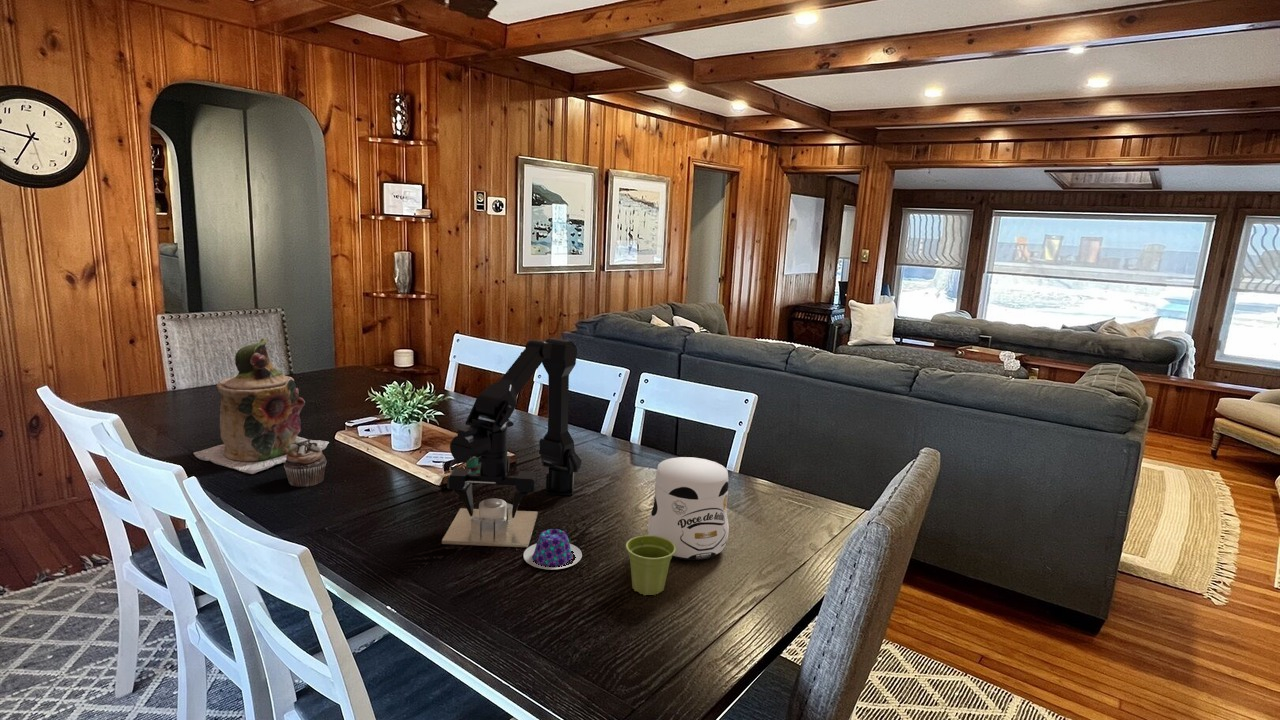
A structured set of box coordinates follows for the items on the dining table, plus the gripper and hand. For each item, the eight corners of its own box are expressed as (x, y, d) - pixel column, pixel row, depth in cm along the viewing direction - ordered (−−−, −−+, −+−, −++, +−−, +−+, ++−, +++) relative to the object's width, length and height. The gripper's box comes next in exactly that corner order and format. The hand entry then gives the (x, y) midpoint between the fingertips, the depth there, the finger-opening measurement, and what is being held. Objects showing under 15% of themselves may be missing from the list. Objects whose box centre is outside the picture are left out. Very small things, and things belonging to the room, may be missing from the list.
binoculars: (456, 434, 180) (491, 435, 178) (460, 472, 182) (494, 473, 180) (440, 445, 171) (476, 445, 169) (444, 484, 173) (480, 485, 171)
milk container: (704, 576, 133) (711, 492, 130) (631, 550, 142) (636, 470, 138) (739, 544, 148) (746, 467, 144) (671, 522, 156) (676, 449, 153)
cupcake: (276, 482, 166) (273, 444, 164) (310, 470, 175) (309, 434, 172) (301, 491, 162) (299, 452, 160) (335, 479, 170) (334, 441, 168)
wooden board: (537, 514, 156) (537, 498, 156) (527, 547, 141) (528, 529, 140) (460, 511, 156) (460, 495, 155) (441, 543, 140) (441, 526, 139)
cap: (508, 519, 151) (508, 497, 150) (503, 531, 145) (504, 508, 144) (481, 518, 151) (482, 495, 150) (476, 530, 145) (476, 507, 144)
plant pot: (622, 575, 132) (624, 534, 130) (669, 575, 133) (672, 535, 131) (625, 601, 123) (627, 558, 121) (675, 601, 124) (678, 558, 122)
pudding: (544, 539, 145) (545, 516, 144) (592, 553, 141) (593, 530, 139) (511, 562, 135) (511, 538, 134) (561, 578, 130) (562, 554, 129)
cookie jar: (189, 459, 178) (179, 341, 171) (270, 434, 200) (264, 329, 194) (255, 476, 169) (247, 353, 163) (332, 448, 191) (328, 339, 185)
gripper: (541, 439, 153) (539, 503, 156) (459, 435, 152) (459, 499, 155) (534, 456, 142) (532, 524, 145) (446, 452, 141) (446, 520, 144)
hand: (492, 516), depth 148 cm, fingers open, 9 cm apart
